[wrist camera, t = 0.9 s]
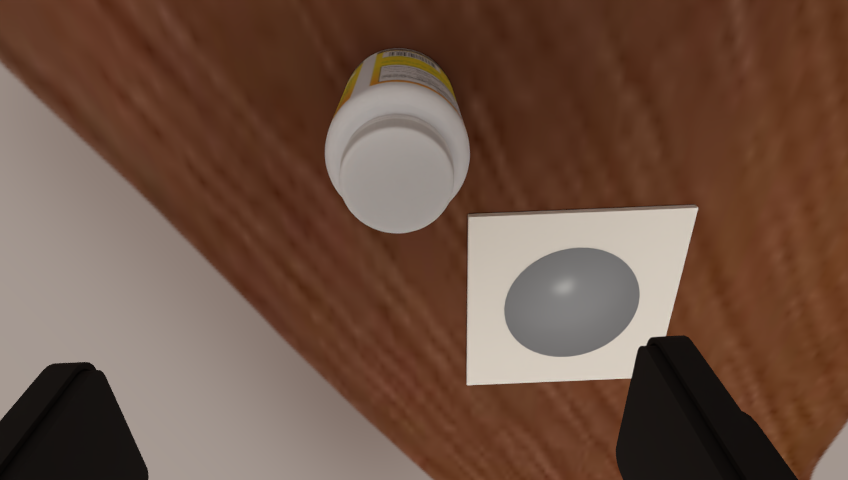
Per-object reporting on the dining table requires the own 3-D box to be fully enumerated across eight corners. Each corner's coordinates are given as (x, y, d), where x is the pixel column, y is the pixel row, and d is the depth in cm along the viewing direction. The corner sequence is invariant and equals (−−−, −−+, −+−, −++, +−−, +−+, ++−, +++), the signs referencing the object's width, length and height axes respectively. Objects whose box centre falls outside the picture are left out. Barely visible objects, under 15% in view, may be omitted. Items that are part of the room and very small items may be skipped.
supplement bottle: (374, 169, 28) (358, 274, 20) (325, 73, 26) (282, 143, 17) (470, 130, 28) (499, 221, 19) (430, 25, 25) (441, 74, 16)
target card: (694, 204, 30) (699, 208, 30) (653, 373, 36) (656, 378, 36) (467, 214, 30) (468, 218, 29) (466, 380, 36) (466, 386, 36)
